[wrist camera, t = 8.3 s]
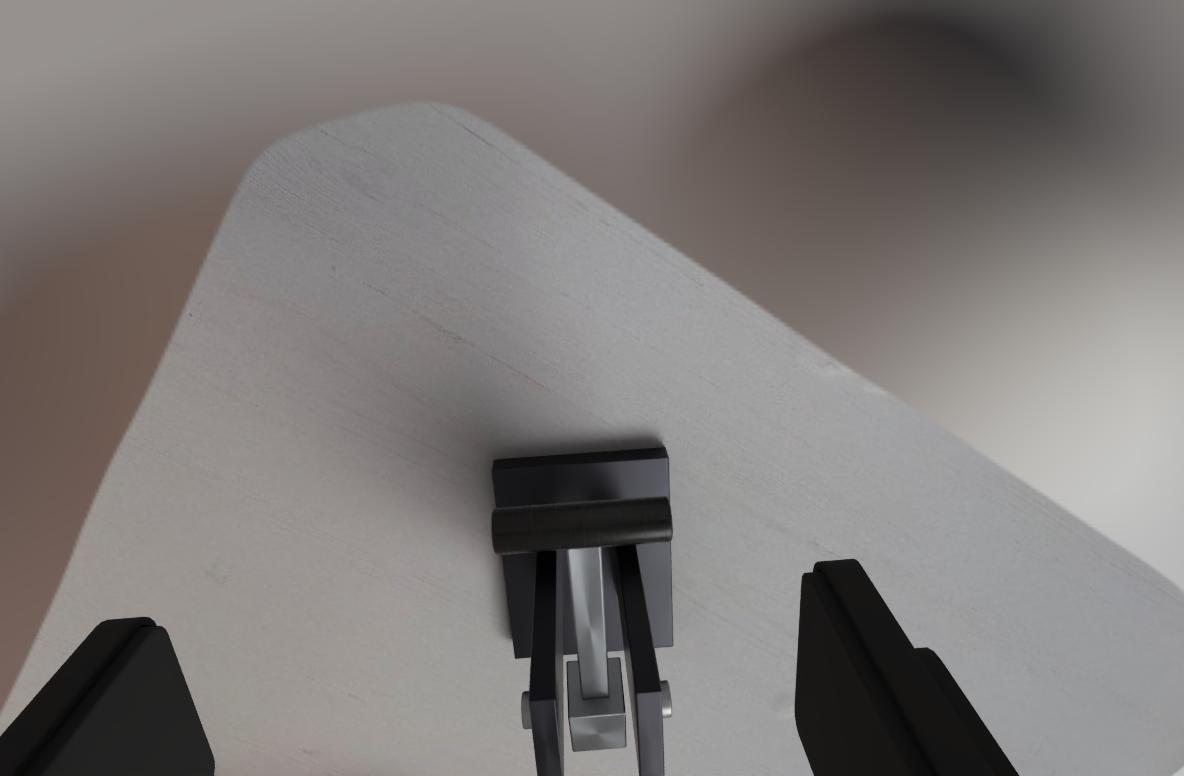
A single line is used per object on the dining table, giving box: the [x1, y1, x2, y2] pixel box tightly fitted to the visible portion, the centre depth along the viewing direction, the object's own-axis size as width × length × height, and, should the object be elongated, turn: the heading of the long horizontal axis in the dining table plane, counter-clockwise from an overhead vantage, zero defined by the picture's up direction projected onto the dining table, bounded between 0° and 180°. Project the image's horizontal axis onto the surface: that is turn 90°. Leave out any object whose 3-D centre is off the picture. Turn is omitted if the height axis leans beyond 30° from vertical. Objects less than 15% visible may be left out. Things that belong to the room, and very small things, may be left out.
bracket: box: [492, 447, 673, 776], centre depth 33 cm, size 12×9×13 cm
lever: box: [491, 496, 673, 752], centre depth 26 cm, size 13×6×2 cm, turn 3°
